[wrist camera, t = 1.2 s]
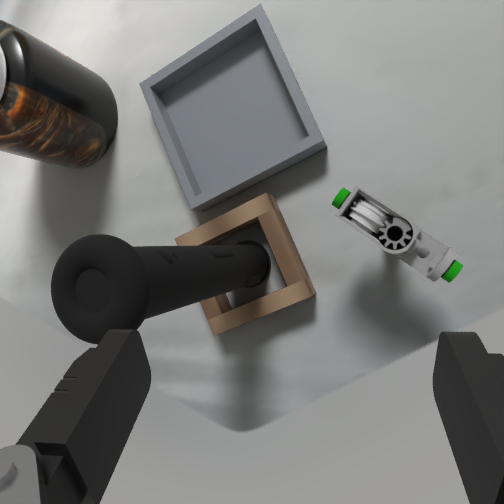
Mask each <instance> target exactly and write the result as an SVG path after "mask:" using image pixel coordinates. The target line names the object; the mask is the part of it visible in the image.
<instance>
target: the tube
mask: <svg viewBox="0 0 504 504" xmlns="http://www.w3.org/2000/svg"><path fill="white" fill-rule="evenodd" d="M270 268H271V261H270V257H269V254H268V252H267V251H266V249H265V248H264V247H263V246H262V245H260V244H259V243H257V242H254V241H242V242H239V243H237V244H235V245H202V246H143V247H132V246H131V245H130V244H128V243H127V242H125V241H123V240H122V239H119V238H117V237H114V236H110V235H103V234H99V235H90V236H87V237H84V238H81V239H79V240H77V241H76V242H74V243H73V244H71V245H70V246H69V247H68V248H67V249H66V250H65V251H64V252H63V253H62V255H61V256H60V258H59V259H58V261H57V263H56V265H55V268H54V271H53V275H52V281H51V296H52V302H53V305H54V308H55V311H56V313H57V316H58V317H59V319H60V321H61V322H62V324H63V325H64V326H65V327H66V329H67V330H68V331H69V332H71V333H72V334H73V335H74V336H76V337H77V338H79V339H81V340H83V341H85V342H88V343H92V344H99V343H100V341H101V340H102V338H103V337H104V335H105V334H106V332H107V331H108V330H111V329H122V330H137V329H138V328H139V326H140V325H141V324H142V322H143V321H144V319H147V318H150V317H153V316H156V315H159V314H163V313H166V312H169V311H172V310H175V309H178V308H181V307H184V306H187V305H190V304H193V303H196V302H199V301H202V300H205V299H209V298H212V297H215V296H218V295H221V294H224V293H227V292H230V291H233V290H236V289H239V288H242V287H254V286H257V285H259V284H261V283H262V282H263V281H264V280H265V279H266V278H267V276H268V274H269V272H270Z"/></svg>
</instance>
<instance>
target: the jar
mask: <svg viewBox="0 0 504 504" xmlns="http://www.w3.org/2000/svg"><path fill="white" fill-rule="evenodd" d="M116 125H117V107H116V102H115V98H114V95H113V93H112V91H111V89H110V87H109V86H108V84H107V83H106V82H105V81H104V80H103V79H102V78H101V77H100V76H99V75H97V74H96V73H94V72H93V71H91V70H89V69H88V68H86V67H84V66H83V65H81V64H79V63H78V62H76V61H74V60H73V59H71V58H69V57H68V56H66V55H64V54H63V53H61V52H59V51H58V50H56V49H54V48H52V47H51V46H49V45H47V44H46V43H44V42H42V41H40V40H39V39H37V38H35V37H33V36H32V35H30V34H28V33H26V32H25V31H23V30H21V29H19V28H17V27H15V26H13V25H11V24H9V23H7V22H4V21H2V20H0V151H3V152H7V153H11V154H15V155H19V156H23V157H27V158H31V159H35V160H39V161H43V162H47V163H52V164H56V165H60V166H65V167H70V168H83V167H87V166H89V165H91V164H93V163H95V162H96V161H97V160H99V159H100V158H101V157H102V156H103V155H104V154H105V152H106V151H107V149H108V148H109V146H110V144H111V142H112V140H113V137H114V134H115V131H116Z"/></svg>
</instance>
